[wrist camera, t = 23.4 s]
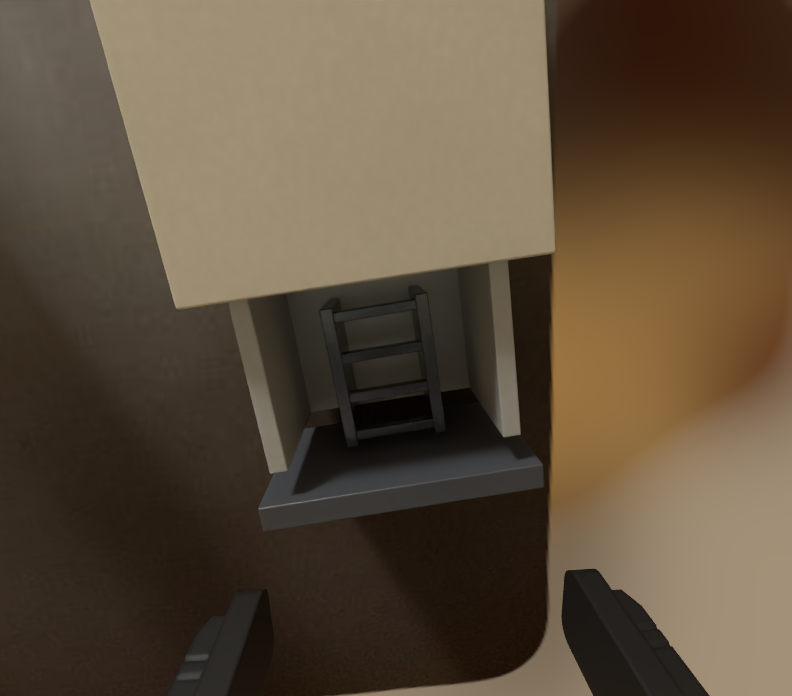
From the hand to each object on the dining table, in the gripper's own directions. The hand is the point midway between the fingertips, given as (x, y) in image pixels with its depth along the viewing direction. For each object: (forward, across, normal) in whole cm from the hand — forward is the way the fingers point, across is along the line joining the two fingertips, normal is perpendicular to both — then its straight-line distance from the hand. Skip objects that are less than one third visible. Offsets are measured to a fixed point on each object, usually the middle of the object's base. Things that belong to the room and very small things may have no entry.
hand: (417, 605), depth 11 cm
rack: (+13, 0, -4) cm, 14 cm away
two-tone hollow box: (+15, +1, -7) cm, 16 cm away
